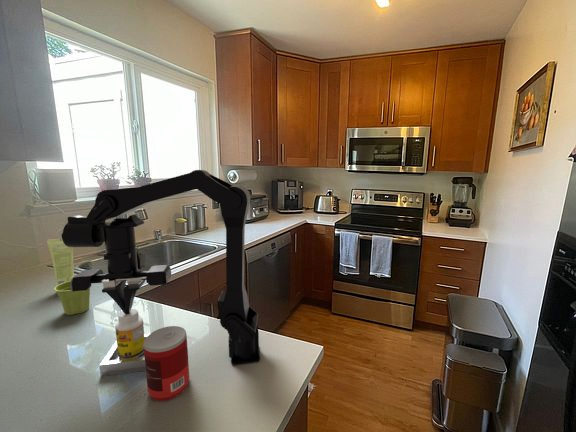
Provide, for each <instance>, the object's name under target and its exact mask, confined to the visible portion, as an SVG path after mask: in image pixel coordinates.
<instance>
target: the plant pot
mask: <svg viewBox="0 0 576 432" xmlns="http://www.w3.org/2000/svg"><path fill="white" fill-rule="evenodd" d="M70 282H71V281H68V282H64V283H62V284H59V285H57V284H56V286H55V287H54V288H53V289H54V292H56V294H57V295H58V297H59V300H60V302H61V305H62V309H63V311H64V314H65V315H67V316H73V315H75V314H82V313H84V312H86V311H87V310H89V309H90V295H91V292H90V291H91V287H92V284H93V283H91V286H90V288H89V289H87V290H84V291H71V285H70Z"/></svg>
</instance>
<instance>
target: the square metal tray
mask: <svg viewBox="0 0 576 432" xmlns="http://www.w3.org/2000/svg"><path fill="white" fill-rule="evenodd" d="M149 334H150V333H144V337H145V338H146V337H147V336H148V335H149ZM137 372H146V368H145V358H144V353H143V354H142V355H140V356H139V357H136V358H128V359H120V358H119V356H118V347H117V340H115V342H114V343H113V345H112V346H111V348H110V349H109V351H108V352H107V354H106V355H105V356H104V358H103V359H102V361H101V363H99V374H100V377H106V376H113V375H121V374H130V373H137Z"/></svg>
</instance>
